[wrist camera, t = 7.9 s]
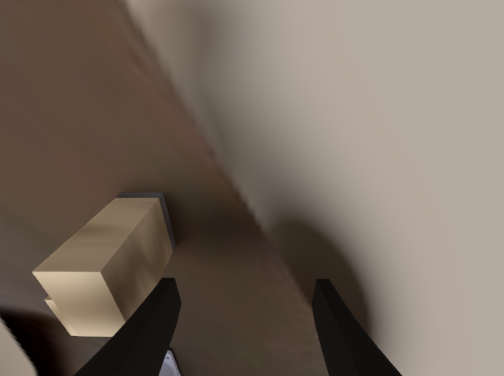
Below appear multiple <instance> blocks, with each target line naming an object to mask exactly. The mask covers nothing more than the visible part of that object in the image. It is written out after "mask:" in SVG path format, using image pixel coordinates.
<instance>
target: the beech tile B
mask: <svg viewBox="0 0 504 376" xmlns="http://www.w3.org/2000/svg"><path fill="white" fill-rule="evenodd" d="M175 246H176V242H175V238H174V234H173V230H172V226H171V222H170V218H169V214H168V210H167V206H166V202H165V198H164V194H163V192H122V193H121V194H120V195H118V196H117V197H116V198H115V199H114V200H113V201H112V202H110V203H109V204H108V205H107V206H106V207H105V208H104V209H103V210H101V211H100V212H99V213H98V214H97V215H96V216H95V217H93V218H92V219H91V220H90V221H89V222H88V223H87V224H86V225H84V226H83V227H82V228H81V229H80V230H79V231H78V232H76V233H75V234H74V235H73V236H72V237H71V238H70V239H68V240H67V241H66V242H65V243H64V244H63V245H62V246H61V247H59V248H58V249H57V250H56V251H55V252H54V253H53V254H51V255H50V256H49V257H48V258H47V259H46V260H45V261H44V262H42V263H41V264H40V265H39V266H38V267H37V268H36V269H34V270H33V271H32V272H33V274H34V275H35V277H36V278H37V279H38V281H39V282H40V284H41V285H42V286H43V288H44V289H45V290H46V292H47V293H48V295H49V296H50V297H51V299H52V300H53V302H54V303H55V304H56V306H57V307H58V308H59V310H60V311H61V313H62V314H63V315H64V317H65V318H66V320H67V321H68V322H69V324H70V325H71V327H72V328H73V329H74V331H75V332H76V333H77V335H78V336H110V337H113V335H114V334H115V333H116V332H117V331H118V330H119V329H120V328H121V327H122V326H123V325H124V323H125V322H126V321H127V320H128V319H129V318H130V317H131V315H132V314H133V313H134V312H135V311H136V310H137V308H138V307H139V306H140V305H141V304H142V302H143V301H144V300H145V299H146V298H147V296H148V295H149V294H150V293H151V291H152V290H153V289H154V288H155V286H156V285H157V284H158V283H159V280H160V278H161V276H162V274H163V272H164V270H165V268H166V266H167V263H168V261H169V259H170V257H171V255H172V253H173V251H174V249H175Z"/></svg>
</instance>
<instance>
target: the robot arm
mask: <svg viewBox="0 0 504 376" xmlns="http://www.w3.org/2000/svg"><path fill="white" fill-rule="evenodd" d="M180 307H181V300H180V296H179V292H178V289H177V285H176V281H175V278H162V279H161V280H160V281H159V283H158V284H157V285H156V286H155V288H154V289H153V290H152V291H151V293H150V294H149V295H148V296H147V298H146V299H145V300H144V301H143V302H142V304H141V305H140V306H139V307H138V308H137V310H136V311H135V312H134V313H133V314H132V315H131V317H130V318H129V319H128V320H127V321H126V322H125V323H124V325H123V326H122V327H121V328H120V329H119V330H118V331H117V332H116V333H115V334H114V335H113V337H112V338H111V339H110V340H109V341H108V342H107V343H106V344H105V345H104V346H103V347H102V348H101V349H100V350H99V351H98V352H97V353H96V354H95V355H94V356H93V357H92V358H91V359H90V360H89V361H88V362H87V363H86V364H85V365H84V366H83V367H82V368H81V369H80V370H79V371H78V372H77V373H76V374H75V375H73V376H181V375H180V372H179V370H178V367H177V364H176V362H175V359H174V356H173V354H172V352H171V351H170V350H168V348H169V345H170V342H171V339H172V336H173V333H174V330H175V328H176V324H177V320H178V316H179V312H180ZM312 309H313V315H314V320H315V326H316V330H317V334H318V337H319V341H320V345H321V348H322V352H323V356H324V359H325V363H326V366H327V370H328V374H329V376H402V375H401V374H400V373H399V371H398V370H397V369H396V368H395V367H394V366H393V365H392V363H391V362H390V361H389V360H388V359H387V358H386V356H385V355H384V354H383V353H382V351H381V350H380V349H379V348H378V347H377V345H376V344H375V343H374V342H373V340H372V339H371V338H370V337H369V335H368V334H367V333H366V331H365V330H364V329H363V327H362V326H361V325H360V323H359V322H358V321H357V319H356V318H355V316H354V315H353V314H352V312H351V311H350V310H349V308H348V307H347V305H346V304H345V302H344V301H343V299H342V298H341V296H340V295H339V293H338V292H337V290H336V289H335V287H334V285H333V284H332V282H331V280H329V279H316V284H315V290H314V295H313V300H312Z"/></svg>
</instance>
